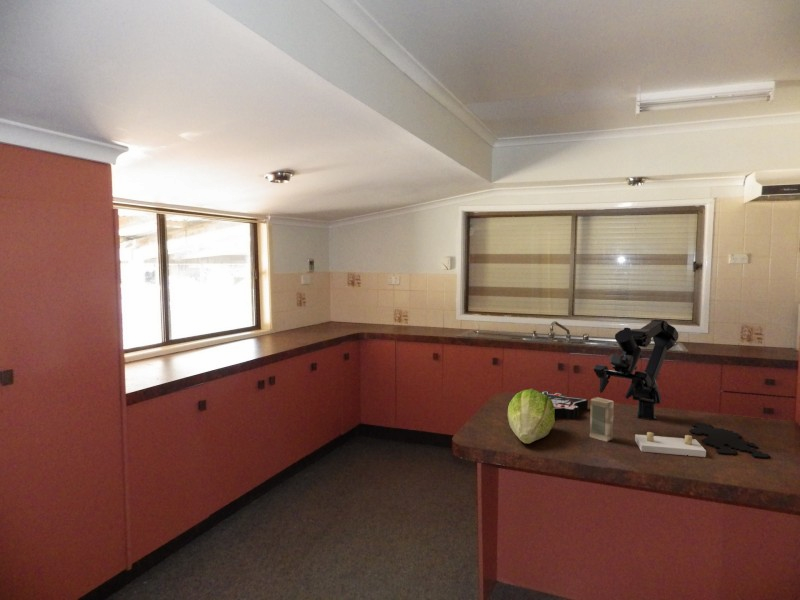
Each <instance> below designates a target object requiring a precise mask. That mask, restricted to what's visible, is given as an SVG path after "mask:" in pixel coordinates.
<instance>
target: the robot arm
mask: <svg viewBox="0 0 800 600" xmlns="http://www.w3.org/2000/svg"><path fill="white" fill-rule="evenodd" d="M614 340H615V341H616V343H617V345H618V347H619V349H620V350H621V351H622V353H621V354H613V353H612V354H610V358H609V363H608V364H611V367H612V369H613V370H612V369H609V367H608V365H604V364H595V365H594V367H593V371H594V373H595V374H596V376H597V378H598V379H599V393H600V394H602V393H604V391H605V389H606V388H607V385H608V384H609V382H610V380H609V379H610V378H611V377H614V378H615V377H616V378H621V379H626V380H629V381H630V380H631V383H630V385H629V387H628V389H627V392H626V394H625V399H627V400H628V399H629V398H630V397H632V400H633V401H637V411H636V412H635V415H636V418H637V419H643V420H647V419H648V420H657V416H656V415H655V408H656V406H655V405H656V404H657V405H658V404H659V405H660V404H661V401H662V395H661V394H660V391H659V386H658V384H657V379H658V376H659V375H660V374H659V373H660V371H661V369H662V366H663V363H664V360H665V358H666V355H667V353H668V351H669V350H670V349H671V348H673V347H674V346H675V344H676V343H677V341H678V340H679V332H678V330H677V328H676V327H675V326H673V325H671V324H669V323H668V321H667V320H664V319H651V320H650V322H649V323H647V324H646V325H644V326H642V327H640V328H633V329H631V328H630V327H624V328H623V329H621V330H619V331H617V332H616V333H615V335H614ZM652 340H653V343H654V346H653V349H652V351H651V354H650V356H649V359H648V361H647V364H646V367H645V369H644V371H641V370H637V369H638V366H637V365H638V362H639V360H640V358H643V351H642V349H641V348H647V347H648V346H649V345H650V344H651V342H652ZM640 347H641V348H640ZM635 370H636V371H635ZM634 371H635V372H634Z"/></svg>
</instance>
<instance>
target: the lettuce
mask: <svg viewBox="0 0 800 600" xmlns="http://www.w3.org/2000/svg"><path fill="white" fill-rule="evenodd" d="M541 392H542V391H538V390H535V389H534V388H529V389H523V390H521V392H519V391H518V393H516V394H515V395H514V396H513V397H512V398H511V400H510V401H509V404H508V408H507V419H508V424H509V427H510V429H511V430H512V432H513V433H514V434H515V436H516V437H517V438H518V439H519V441H521V442H523V443H524V444H532V443H534V442H535V441H538V440H540V439H542V438H543V439H544V438H545V437H546V436H548V435H549V433H550V431H551V430H552V428H553V427H554V424H555V422H556V421H555V408H554V405H553V403H552V400H551V399H550V398H549V397H547V396H546V395H545V394H543V393H541Z"/></svg>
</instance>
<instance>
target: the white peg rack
mask: <svg viewBox="0 0 800 600" xmlns="http://www.w3.org/2000/svg"><path fill="white" fill-rule="evenodd" d="M634 441H635V443H636V445H637V446H638V448H639V450H640V452H645V453H655V454H665V455H666V454H667V455H678V456H687V455H688V456H691V457H701V458H706V456H707V450H706V449H705V448H704V447H703V446H702V444H701V443H700V442H699V441H698V440H697V439H694V438H693V436H692V435H690V434H685V435H684V438H682V437H671V436H670V437H669V436H659V435H655V433H654V432H651V431H647V432H646V434H636V433H635V435H634Z"/></svg>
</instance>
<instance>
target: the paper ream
mask: <svg viewBox="0 0 800 600" xmlns="http://www.w3.org/2000/svg"><path fill="white" fill-rule="evenodd" d="M614 405H615V404H614V401H613V400H611V399H607V398H602V397H599V396H597V397H592V398H591V399H590V407H589V410H590V411H589V414H590V415H589V416H590V417H589V438H593V439H595V440H600V441H603V442H609V441H611V440H613V437H614V436H613V435H614V434H613V433H614V432H613V431H614V407H615V406H614Z"/></svg>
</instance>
